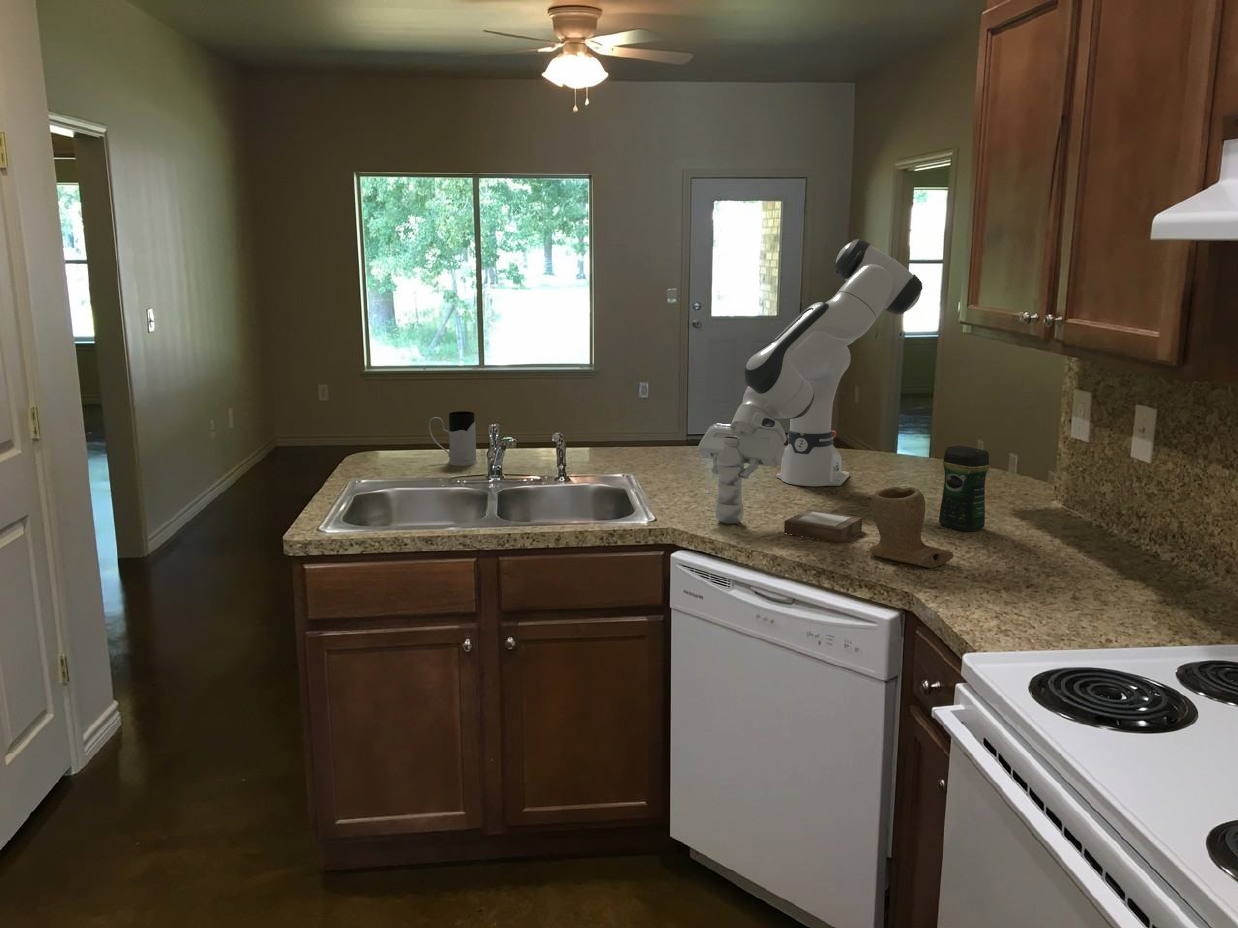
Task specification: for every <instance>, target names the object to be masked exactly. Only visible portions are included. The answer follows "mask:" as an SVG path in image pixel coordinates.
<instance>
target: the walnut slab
mask: <svg viewBox="0 0 1238 928" xmlns="http://www.w3.org/2000/svg"><path fill="white" fill-rule="evenodd" d="M783 524H784V525H783V534H784V533H787V534H792V535H797V536H796V537H798V536H803V537H802V538H804V537H809V538H814V539H813V540H815V539H819V540H818V541H821V540H825V541H824V542H827V541H828V543H833V542H834V544H841V543H843V542H845V541H847V540H848V539H850V538H853V536H855V535H857V534H858V533H860V532H862V530H863V517H861V516H855V515H847V514H841V513H834V512H828V511H821V510H815V509H814V510H813V509H809V508H808V509H806V510H804V511H802V512H799V513H798V514H796V515H794V516H792V517H790V518H788V519H785V520H784V523H783ZM856 533H857V534H856ZM792 535H791V536H792ZM809 538H808V539H809Z"/></svg>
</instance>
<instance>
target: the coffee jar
mask: <svg viewBox="0 0 1238 928" xmlns="http://www.w3.org/2000/svg"><path fill="white" fill-rule="evenodd" d="M942 464H943V468H944V483H943V490H942V499H941V504H940V510H939V515H938V516H939V517H938V522H939V524H940V525H942V526H944V527H947V528H950V529H955V530H958V531H973V532H976V531H979V530H981V529H983V528H984V527H985V526H986V525H985V524H986V523H985V522H986V521H985V520H986V502H985V501H986V499H985V498H986V497H985V495H986V494H985V493H986V491H985V489H986V477H987V474H988V472H989V468H990V454H989V452H988V451H987V449H981V448H977V447H971V446H966V445H951V446H948V447H946V449H945V452H944V456H943V460H942Z"/></svg>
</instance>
